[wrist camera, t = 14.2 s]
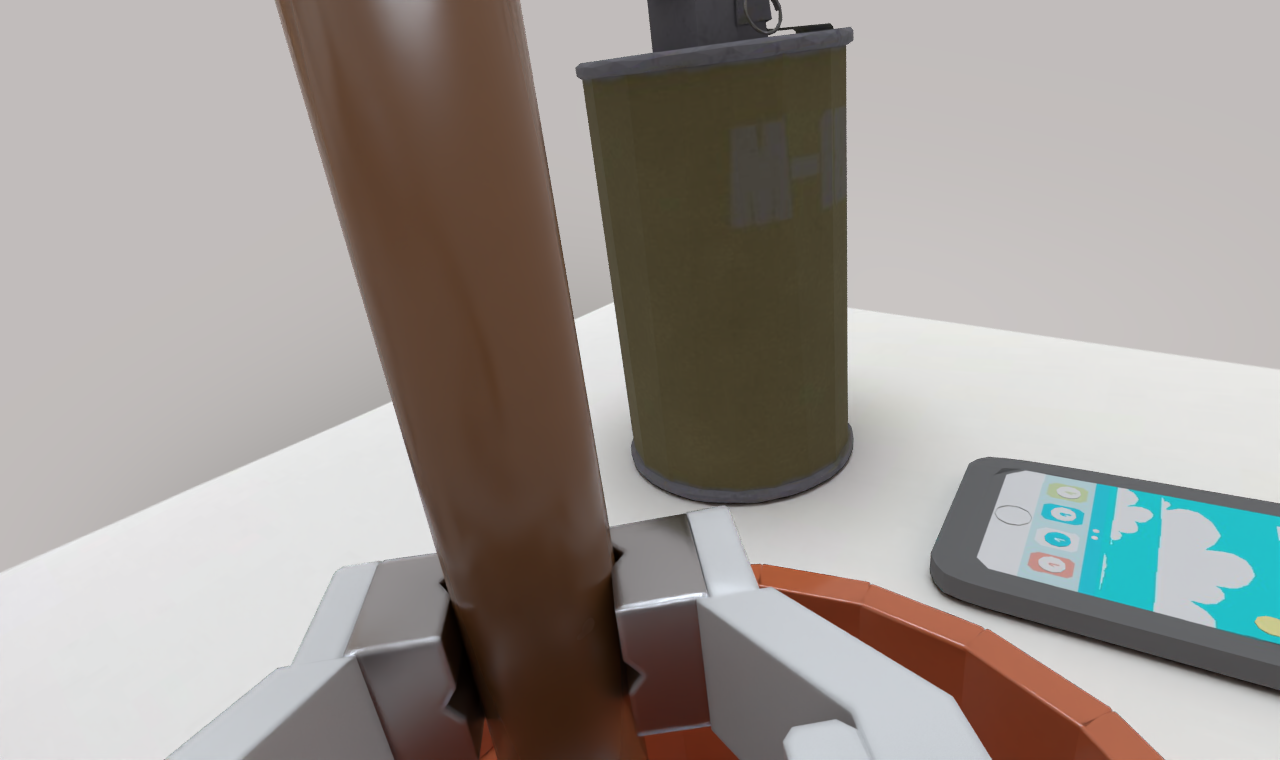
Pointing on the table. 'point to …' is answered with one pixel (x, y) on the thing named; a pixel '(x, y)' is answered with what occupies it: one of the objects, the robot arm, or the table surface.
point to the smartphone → (1120, 562)
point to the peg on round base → (476, 347)
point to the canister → (728, 247)
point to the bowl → (941, 678)
